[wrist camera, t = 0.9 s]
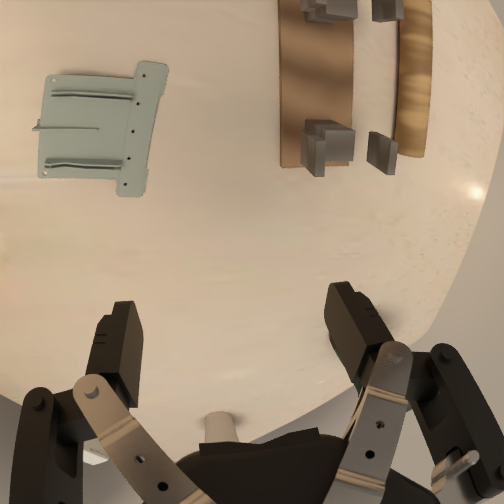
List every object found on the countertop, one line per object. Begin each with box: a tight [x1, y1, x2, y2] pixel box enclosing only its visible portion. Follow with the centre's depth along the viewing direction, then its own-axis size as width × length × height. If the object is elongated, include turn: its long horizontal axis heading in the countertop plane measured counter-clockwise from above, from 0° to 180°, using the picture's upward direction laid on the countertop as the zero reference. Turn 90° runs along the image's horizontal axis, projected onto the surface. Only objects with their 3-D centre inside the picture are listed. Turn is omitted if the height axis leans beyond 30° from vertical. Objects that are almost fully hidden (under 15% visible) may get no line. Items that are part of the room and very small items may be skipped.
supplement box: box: [83, 438, 109, 465], centre depth 51 cm, size 7×7×13 cm
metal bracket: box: [32, 61, 169, 197], centre depth 29 cm, size 14×6×15 cm
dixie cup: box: [205, 412, 239, 443], centre depth 59 cm, size 8×8×10 cm
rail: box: [394, 0, 433, 158], centre depth 29 cm, size 20×4×4 cm, turn 2°
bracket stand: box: [278, 0, 404, 177], centre depth 25 cm, size 22×8×11 cm, turn 2°
